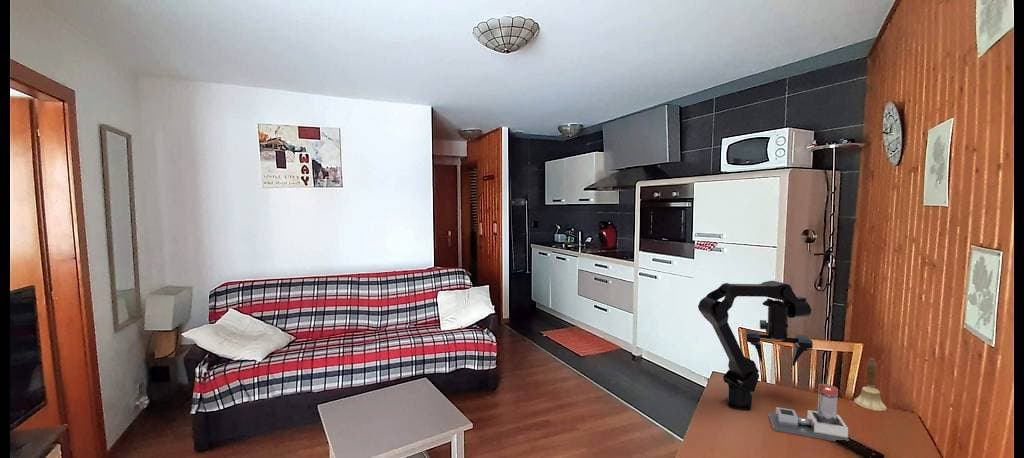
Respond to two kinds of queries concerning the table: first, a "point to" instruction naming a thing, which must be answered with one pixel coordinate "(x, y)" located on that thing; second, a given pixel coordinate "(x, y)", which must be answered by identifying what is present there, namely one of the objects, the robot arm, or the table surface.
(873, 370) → the hand bell
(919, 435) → the table surface
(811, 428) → the desk organizer
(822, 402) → the grey jar
